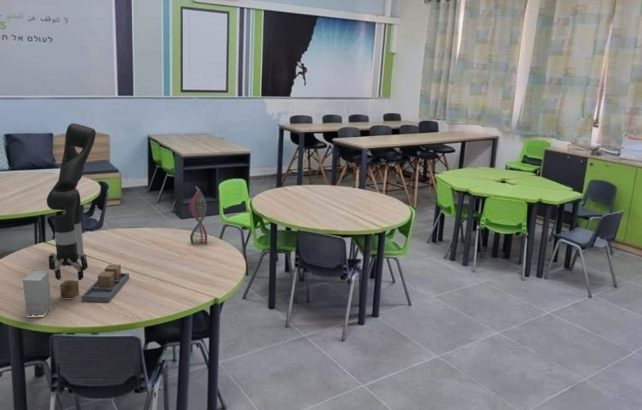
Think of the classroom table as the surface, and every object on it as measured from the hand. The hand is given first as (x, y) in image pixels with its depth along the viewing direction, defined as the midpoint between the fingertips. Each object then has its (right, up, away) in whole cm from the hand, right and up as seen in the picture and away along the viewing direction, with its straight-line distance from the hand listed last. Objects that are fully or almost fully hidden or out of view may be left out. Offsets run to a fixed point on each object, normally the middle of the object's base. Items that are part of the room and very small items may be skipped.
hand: (69, 279), depth 221 cm
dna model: (+37, +10, +68) cm, 78 cm away
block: (-1, -7, +2) cm, 8 cm away
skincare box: (-6, -11, -12) cm, 18 cm away
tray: (+11, -6, +10) cm, 16 cm away
